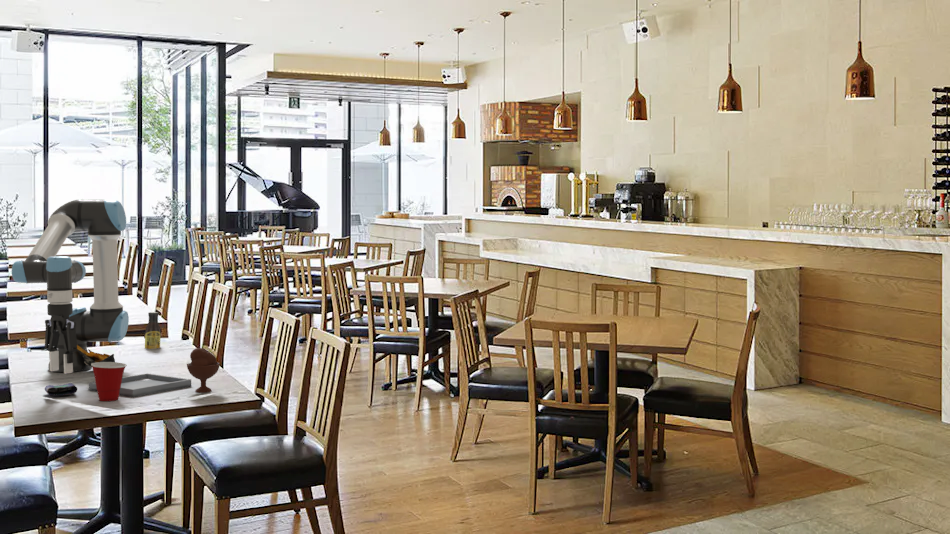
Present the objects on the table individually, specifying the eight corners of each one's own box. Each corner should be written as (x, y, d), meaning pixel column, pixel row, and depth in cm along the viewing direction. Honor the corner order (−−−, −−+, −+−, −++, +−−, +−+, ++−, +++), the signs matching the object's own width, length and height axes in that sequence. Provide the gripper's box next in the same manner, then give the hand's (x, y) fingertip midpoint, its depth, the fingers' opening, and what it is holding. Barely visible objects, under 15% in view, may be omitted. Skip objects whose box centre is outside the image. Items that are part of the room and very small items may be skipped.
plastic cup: (126, 401, 285) (126, 364, 284) (90, 403, 281) (89, 366, 281) (127, 395, 295) (127, 360, 295) (92, 397, 292) (92, 361, 291)
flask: (46, 388, 290) (43, 384, 299) (47, 397, 290) (44, 393, 299) (77, 385, 294) (73, 382, 304) (78, 393, 294) (74, 390, 304)
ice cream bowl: (202, 395, 296) (201, 350, 296) (180, 392, 302) (179, 348, 301) (226, 390, 305) (226, 347, 305) (204, 387, 311) (204, 345, 310)
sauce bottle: (145, 359, 377) (145, 313, 376) (143, 357, 382) (143, 312, 381) (161, 358, 380) (161, 312, 379) (159, 356, 385) (159, 311, 384)
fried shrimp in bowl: (124, 365, 335) (99, 324, 333) (98, 380, 328) (72, 338, 326) (116, 368, 342) (92, 328, 340) (91, 383, 335) (65, 342, 333)
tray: (88, 389, 305) (88, 382, 305) (147, 380, 326) (147, 373, 326) (132, 397, 293) (132, 389, 292) (191, 386, 313) (191, 379, 313)
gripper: (31, 302, 295) (33, 370, 296) (67, 305, 284) (69, 376, 285) (52, 300, 301) (54, 367, 302) (88, 303, 290) (90, 373, 292)
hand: (61, 371), depth 294 cm, fingers open, 7 cm apart
